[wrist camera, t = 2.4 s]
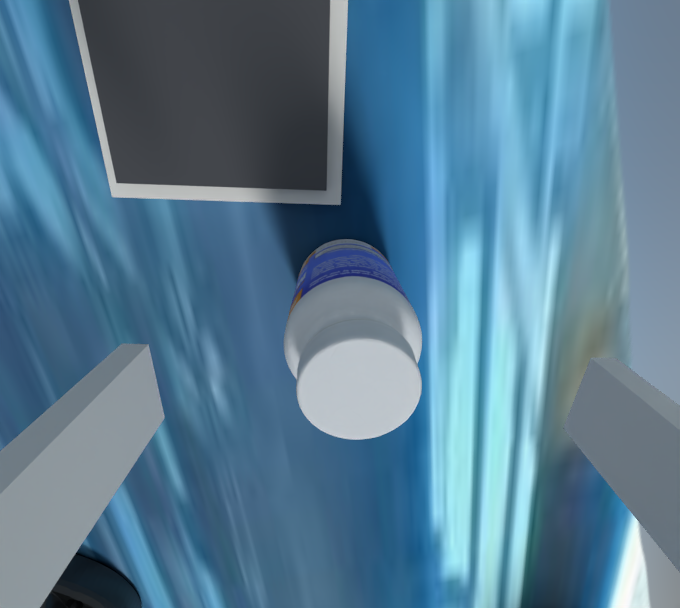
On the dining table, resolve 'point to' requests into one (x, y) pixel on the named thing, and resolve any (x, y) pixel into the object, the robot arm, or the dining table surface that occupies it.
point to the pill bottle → (353, 342)
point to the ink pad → (218, 97)
